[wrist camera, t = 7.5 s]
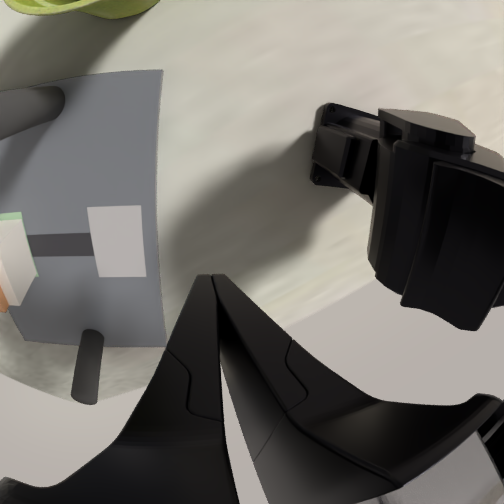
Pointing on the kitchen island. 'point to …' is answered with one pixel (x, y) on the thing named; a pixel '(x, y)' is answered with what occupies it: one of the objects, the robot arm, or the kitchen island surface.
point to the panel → (90, 212)
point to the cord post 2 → (88, 367)
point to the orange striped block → (14, 264)
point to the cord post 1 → (29, 108)
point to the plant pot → (82, 7)
